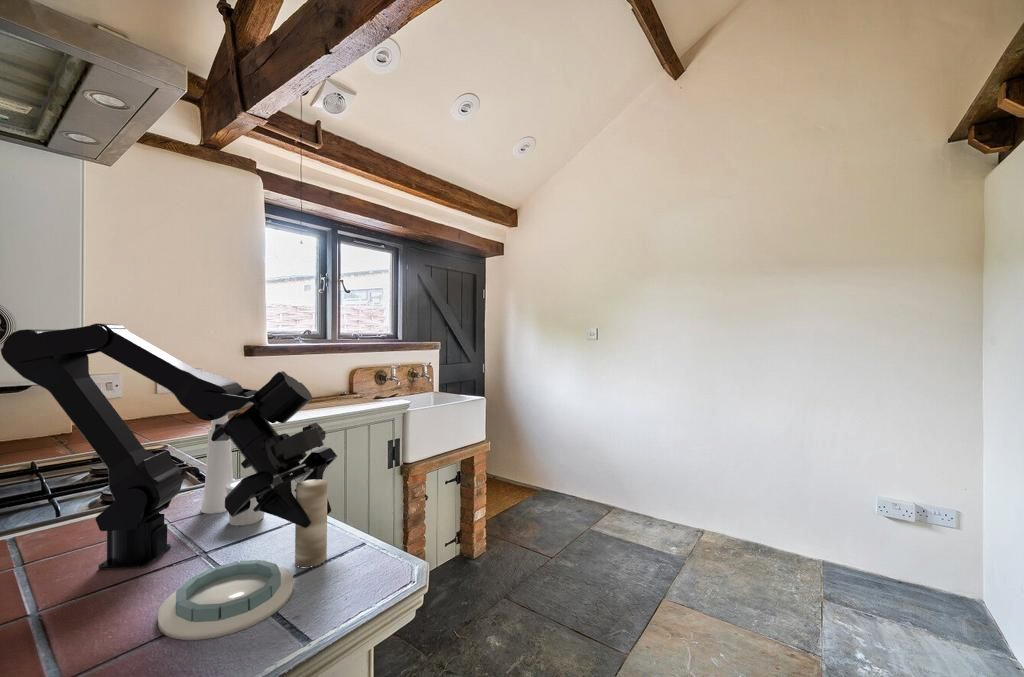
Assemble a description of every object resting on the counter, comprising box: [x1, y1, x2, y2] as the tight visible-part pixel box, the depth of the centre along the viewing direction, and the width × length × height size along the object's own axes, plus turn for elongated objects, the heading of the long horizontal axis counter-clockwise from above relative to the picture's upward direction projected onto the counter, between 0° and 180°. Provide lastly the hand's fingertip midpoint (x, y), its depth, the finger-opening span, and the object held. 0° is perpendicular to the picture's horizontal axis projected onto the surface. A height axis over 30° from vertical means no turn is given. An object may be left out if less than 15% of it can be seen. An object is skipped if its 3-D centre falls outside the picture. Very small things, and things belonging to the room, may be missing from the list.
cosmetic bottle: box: [200, 415, 234, 515], centre depth 89 cm, size 6×6×22 cm
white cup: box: [226, 478, 265, 527], centre depth 85 cm, size 7×7×7 cm
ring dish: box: [157, 559, 295, 641], centre depth 59 cm, size 15×15×2 cm
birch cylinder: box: [294, 479, 329, 568], centre depth 70 cm, size 4×4×12 cm
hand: (319, 519), depth 69 cm, fingers closed on birch cylinder, 4 cm apart
